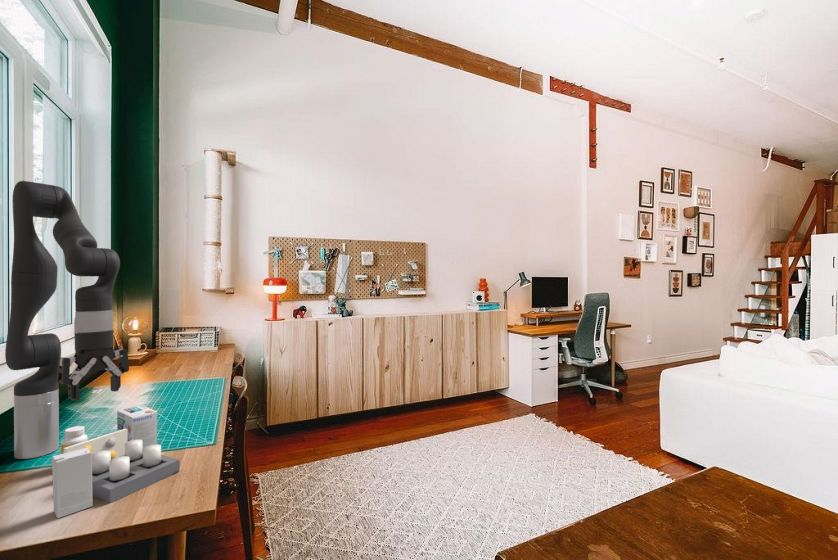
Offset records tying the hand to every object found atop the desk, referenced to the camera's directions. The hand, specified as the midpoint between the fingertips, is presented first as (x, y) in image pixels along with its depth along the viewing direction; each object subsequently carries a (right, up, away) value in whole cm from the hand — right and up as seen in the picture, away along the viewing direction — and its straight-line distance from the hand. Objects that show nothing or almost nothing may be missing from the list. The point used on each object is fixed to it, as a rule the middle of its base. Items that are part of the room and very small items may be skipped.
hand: (95, 395), depth 100 cm
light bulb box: (-3, -21, +19) cm, 28 cm away
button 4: (+12, -18, +2) cm, 22 cm away
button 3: (+6, -18, +5) cm, 19 cm away
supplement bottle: (-11, -21, +8) cm, 25 cm away
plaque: (-4, -21, +6) cm, 22 cm away
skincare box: (+5, -21, -13) cm, 25 cm away
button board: (+7, -21, 0) cm, 22 cm away
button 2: (+9, -18, -5) cm, 20 cm away
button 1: (+2, -18, -1) cm, 18 cm away
